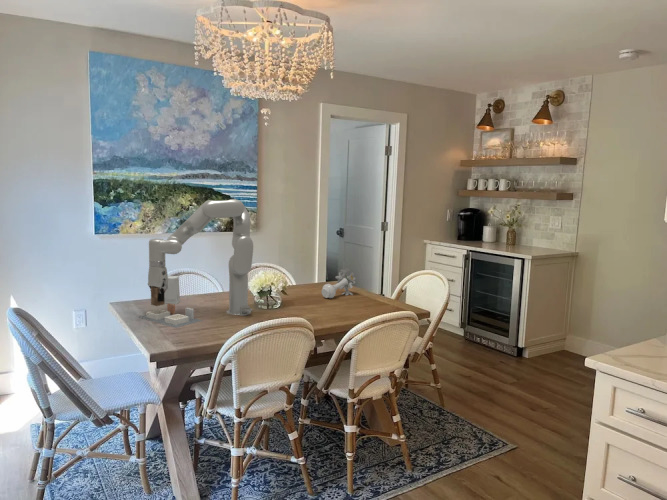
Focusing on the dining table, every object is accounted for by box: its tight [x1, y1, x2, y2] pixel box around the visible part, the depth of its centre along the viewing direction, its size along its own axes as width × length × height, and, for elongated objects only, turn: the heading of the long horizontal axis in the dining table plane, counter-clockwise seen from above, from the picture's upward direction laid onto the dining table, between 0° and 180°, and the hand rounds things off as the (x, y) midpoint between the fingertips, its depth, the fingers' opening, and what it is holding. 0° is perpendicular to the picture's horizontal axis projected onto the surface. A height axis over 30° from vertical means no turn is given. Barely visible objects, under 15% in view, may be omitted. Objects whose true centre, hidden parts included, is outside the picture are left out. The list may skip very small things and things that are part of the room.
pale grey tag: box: [185, 307, 195, 320], centre depth 245 cm, size 4×1×5 cm, turn 56°
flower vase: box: [321, 267, 356, 299], centre depth 308 cm, size 13×18×25 cm
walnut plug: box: [150, 287, 166, 307], centre depth 246 cm, size 4×4×9 cm
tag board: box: [138, 308, 203, 329], centre depth 244 cm, size 29×16×4 cm, turn 56°
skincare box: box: [164, 275, 181, 305], centre depth 275 cm, size 8×7×16 cm
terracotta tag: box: [166, 303, 176, 315], centre depth 253 cm, size 4×1×5 cm, turn 56°
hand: (157, 299), depth 246 cm, fingers closed on walnut plug, 4 cm apart
